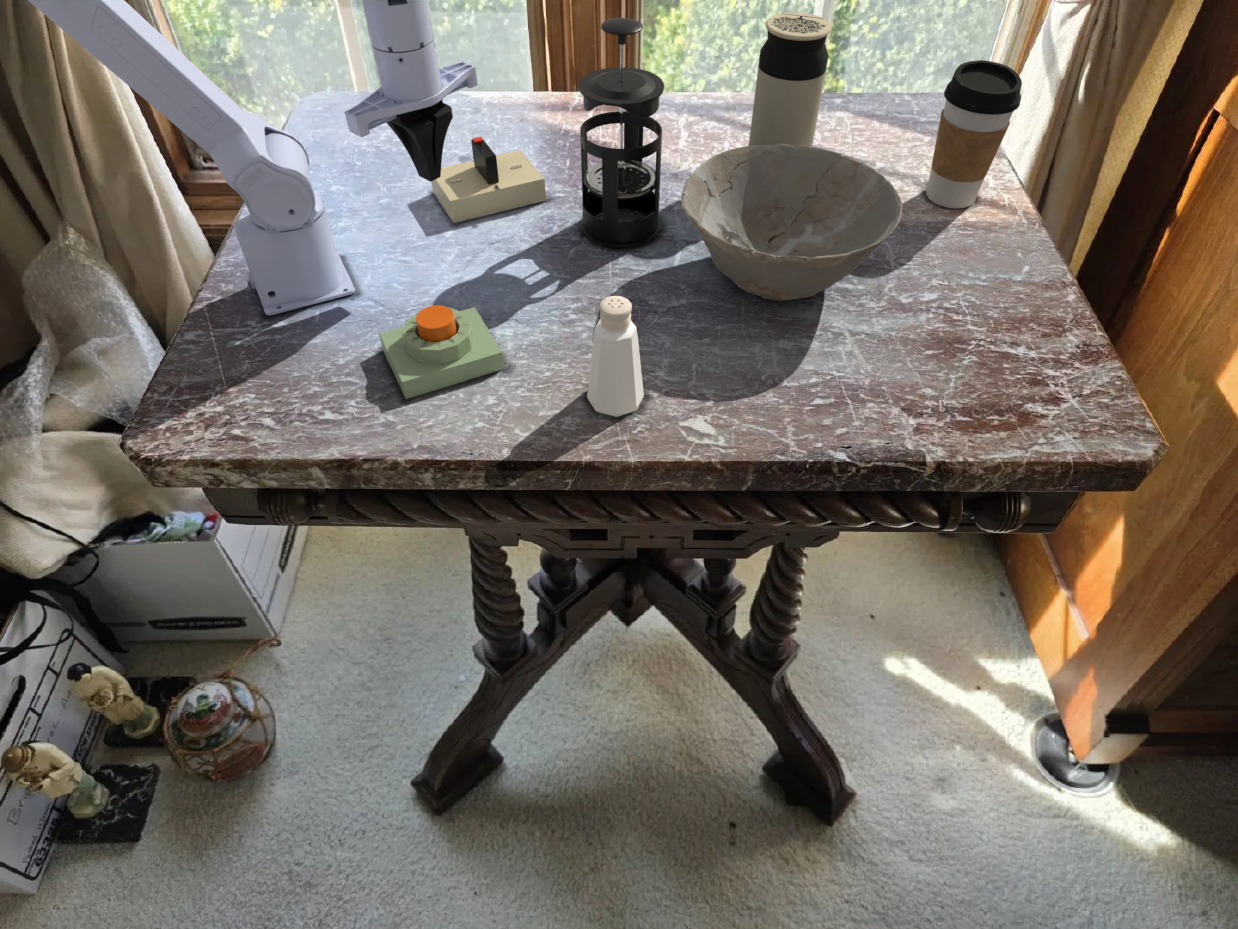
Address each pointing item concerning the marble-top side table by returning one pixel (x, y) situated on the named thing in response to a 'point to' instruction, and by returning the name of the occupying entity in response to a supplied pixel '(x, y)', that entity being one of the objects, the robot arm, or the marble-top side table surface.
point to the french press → (621, 150)
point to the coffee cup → (971, 130)
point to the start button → (436, 323)
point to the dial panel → (489, 188)
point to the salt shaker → (615, 360)
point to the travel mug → (790, 80)
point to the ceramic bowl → (789, 216)
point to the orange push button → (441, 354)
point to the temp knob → (485, 160)
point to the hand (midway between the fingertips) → (429, 176)
